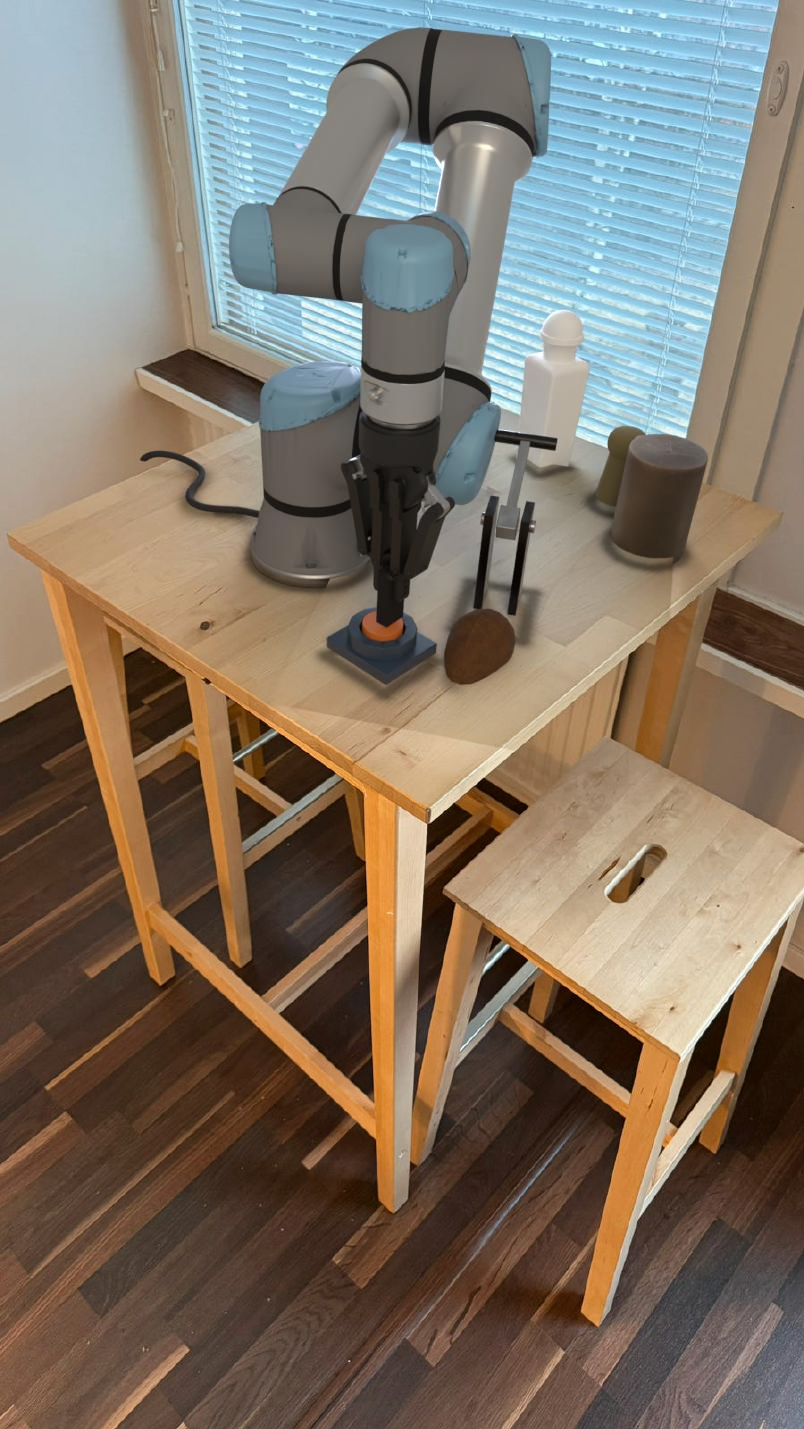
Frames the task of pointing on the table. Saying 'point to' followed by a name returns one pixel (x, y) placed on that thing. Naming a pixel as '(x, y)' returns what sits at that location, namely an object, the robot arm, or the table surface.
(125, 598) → the table surface
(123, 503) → the table surface
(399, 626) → the button
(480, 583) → the lever bracket
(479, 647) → the potato
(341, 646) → the button block
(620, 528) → the pillar candle
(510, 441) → the lever
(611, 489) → the olive pawn
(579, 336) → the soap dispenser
